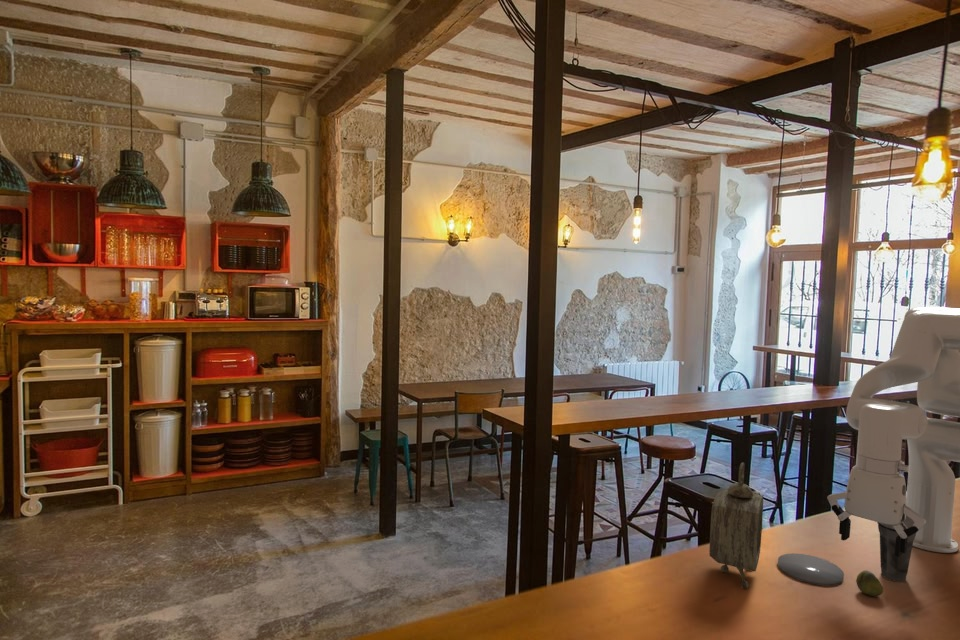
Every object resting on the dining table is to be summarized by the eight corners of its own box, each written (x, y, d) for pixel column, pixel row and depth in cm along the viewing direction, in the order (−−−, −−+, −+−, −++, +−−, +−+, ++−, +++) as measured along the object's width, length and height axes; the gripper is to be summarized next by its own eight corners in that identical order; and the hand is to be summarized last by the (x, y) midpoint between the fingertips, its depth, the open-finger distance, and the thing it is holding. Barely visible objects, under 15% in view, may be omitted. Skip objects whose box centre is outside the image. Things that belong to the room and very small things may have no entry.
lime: (856, 587, 128) (858, 564, 128) (884, 595, 125) (885, 571, 125) (853, 595, 124) (855, 571, 124) (881, 603, 121) (883, 579, 121)
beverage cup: (920, 587, 129) (927, 495, 127) (882, 582, 130) (889, 492, 129) (903, 571, 136) (910, 484, 134) (868, 567, 137) (874, 481, 136)
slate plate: (791, 552, 144) (791, 548, 144) (852, 573, 134) (852, 568, 134) (767, 568, 135) (768, 564, 135) (831, 591, 125) (831, 587, 125)
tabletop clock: (753, 595, 123) (760, 475, 122) (706, 583, 128) (712, 468, 126) (759, 567, 136) (765, 458, 134) (717, 557, 140) (722, 452, 139)
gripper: (933, 472, 119) (926, 557, 120) (837, 452, 132) (831, 529, 133) (924, 479, 114) (917, 567, 115) (824, 457, 127) (819, 537, 128)
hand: (871, 546), depth 124 cm, fingers open, 9 cm apart
